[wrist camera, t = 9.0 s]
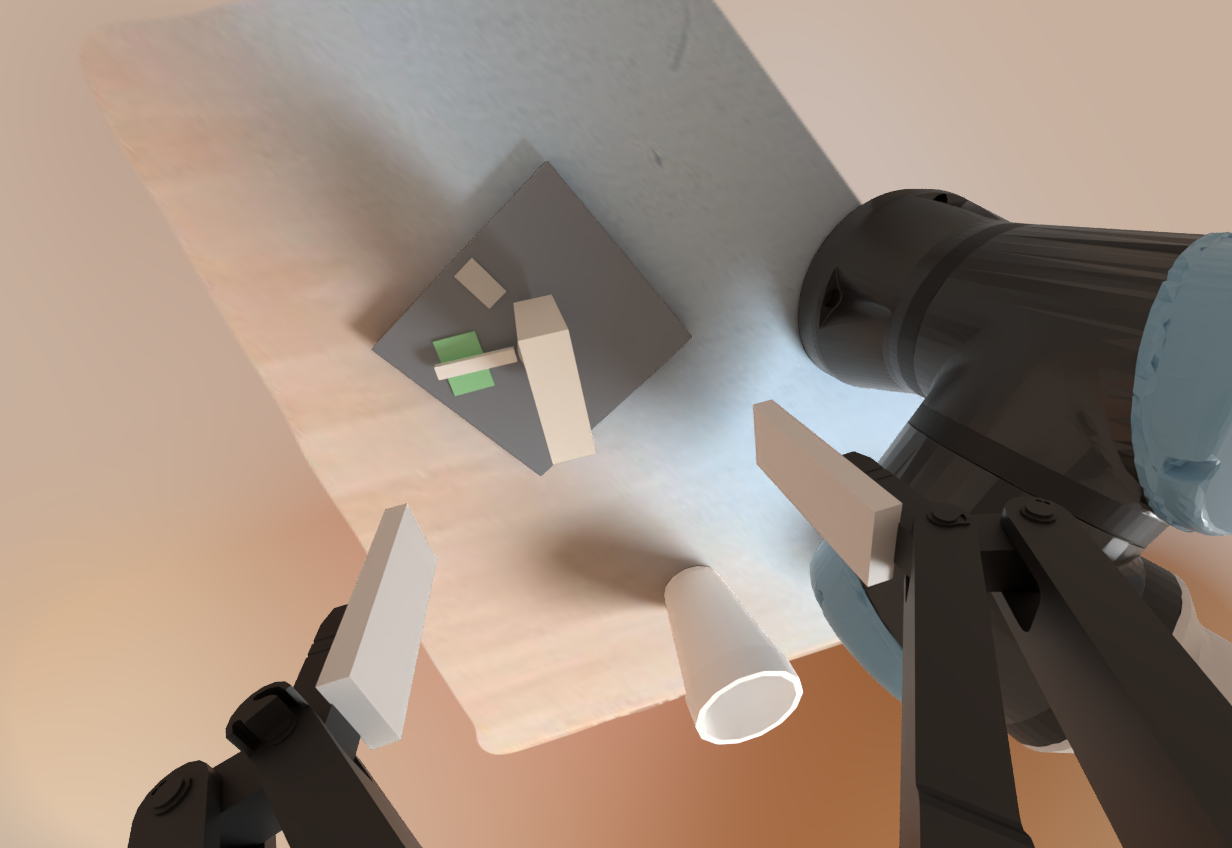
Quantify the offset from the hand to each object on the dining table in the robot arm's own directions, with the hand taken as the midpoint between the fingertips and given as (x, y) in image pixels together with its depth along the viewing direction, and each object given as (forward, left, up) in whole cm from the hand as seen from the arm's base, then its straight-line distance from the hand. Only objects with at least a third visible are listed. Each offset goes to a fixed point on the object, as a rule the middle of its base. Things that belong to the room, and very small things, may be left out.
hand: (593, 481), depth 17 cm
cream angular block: (+3, -2, -17) cm, 17 cm away
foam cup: (+9, +30, -19) cm, 36 cm away
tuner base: (0, 0, -19) cm, 19 cm away
